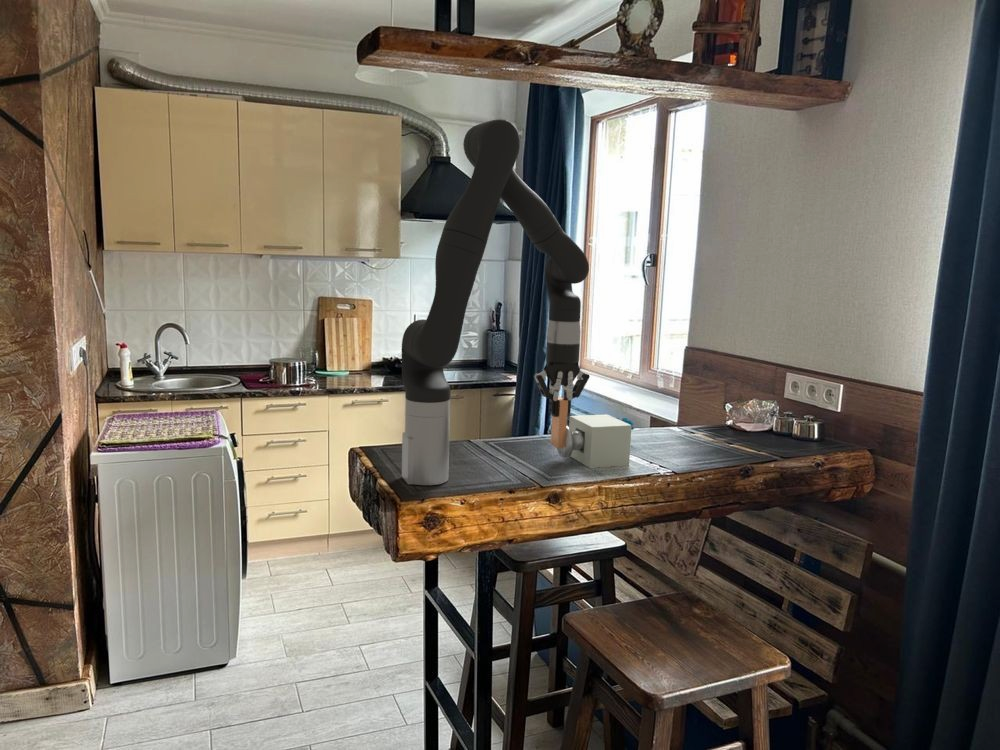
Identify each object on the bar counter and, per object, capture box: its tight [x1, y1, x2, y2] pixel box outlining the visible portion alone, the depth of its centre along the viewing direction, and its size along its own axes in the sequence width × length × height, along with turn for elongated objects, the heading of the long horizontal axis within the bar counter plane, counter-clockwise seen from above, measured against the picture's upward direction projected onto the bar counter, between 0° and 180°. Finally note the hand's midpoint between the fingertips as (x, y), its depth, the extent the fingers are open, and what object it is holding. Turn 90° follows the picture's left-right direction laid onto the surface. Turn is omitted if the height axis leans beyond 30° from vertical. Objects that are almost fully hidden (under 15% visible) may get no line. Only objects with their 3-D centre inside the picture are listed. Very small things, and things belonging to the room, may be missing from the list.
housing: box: [568, 413, 632, 469], centre depth 174 cm, size 10×12×10 cm
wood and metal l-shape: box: [550, 396, 585, 459], centre depth 171 cm, size 9×8×14 cm
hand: (559, 415), depth 170 cm, fingers closed on wood and metal l-shape, 2 cm apart
